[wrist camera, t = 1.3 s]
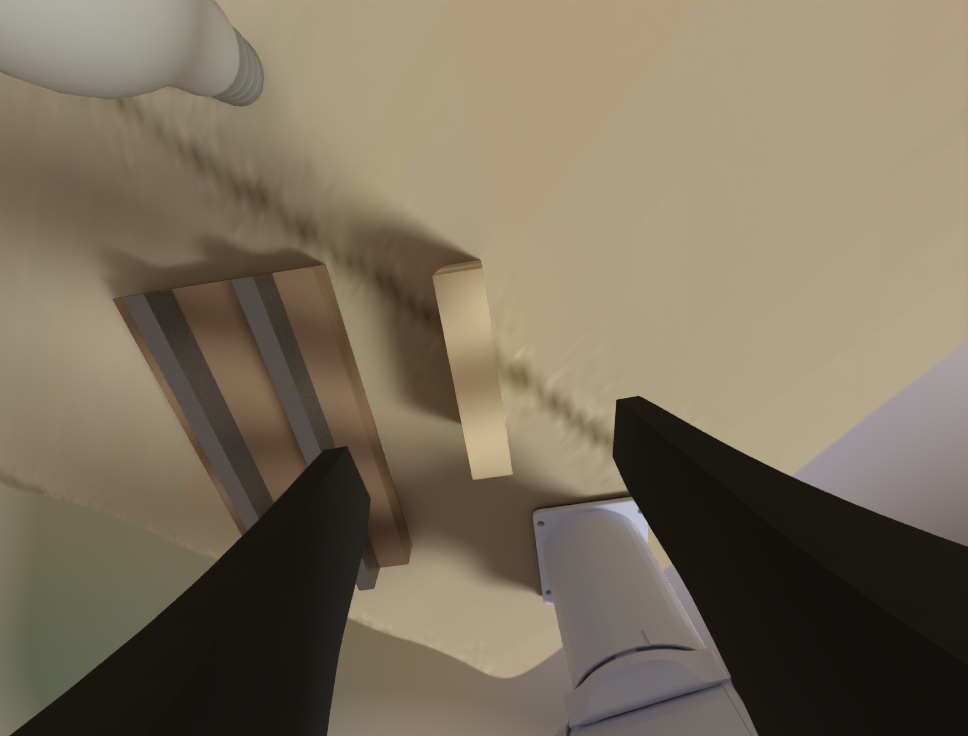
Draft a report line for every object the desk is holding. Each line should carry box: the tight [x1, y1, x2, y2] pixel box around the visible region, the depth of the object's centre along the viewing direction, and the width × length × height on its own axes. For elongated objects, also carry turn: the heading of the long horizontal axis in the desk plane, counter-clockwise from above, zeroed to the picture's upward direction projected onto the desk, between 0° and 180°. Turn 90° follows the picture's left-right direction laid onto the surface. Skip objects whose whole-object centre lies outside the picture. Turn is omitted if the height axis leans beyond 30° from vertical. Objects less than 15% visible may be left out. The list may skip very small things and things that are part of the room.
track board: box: [113, 264, 412, 591], centre depth 20 cm, size 20×10×3 cm, turn 9°
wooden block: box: [432, 260, 512, 480], centre depth 17 cm, size 10×2×5 cm, turn 9°
